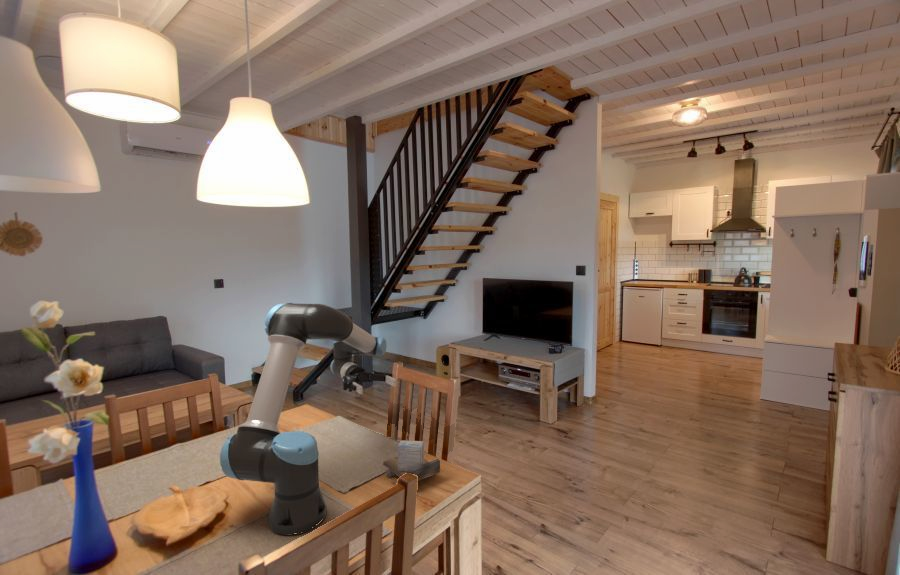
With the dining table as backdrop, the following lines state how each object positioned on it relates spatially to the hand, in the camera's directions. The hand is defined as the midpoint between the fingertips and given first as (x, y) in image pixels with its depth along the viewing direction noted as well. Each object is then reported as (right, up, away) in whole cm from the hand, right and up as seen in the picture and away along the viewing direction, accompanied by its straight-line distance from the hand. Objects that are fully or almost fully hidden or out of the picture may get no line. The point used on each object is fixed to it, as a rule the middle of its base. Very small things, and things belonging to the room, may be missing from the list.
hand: (378, 386), depth 153 cm
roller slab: (+13, -27, -12) cm, 32 cm away
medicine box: (+13, -24, -15) cm, 31 cm away
